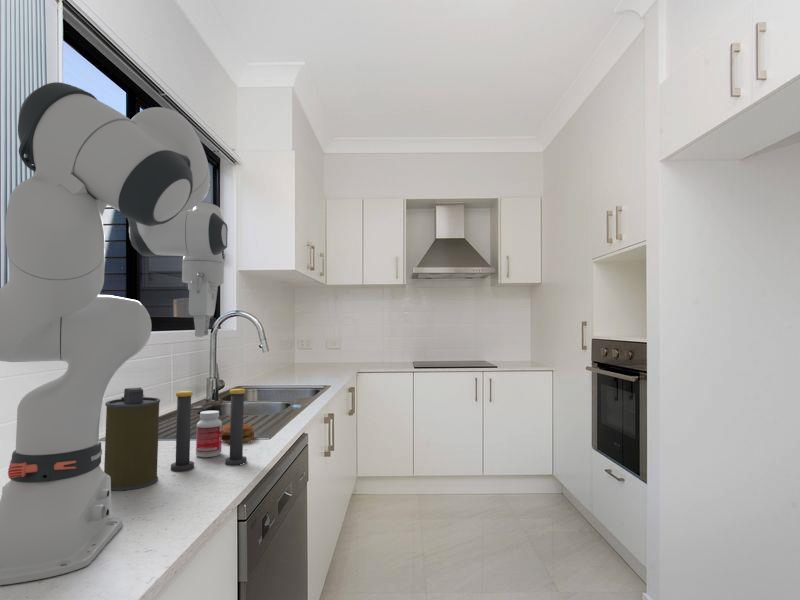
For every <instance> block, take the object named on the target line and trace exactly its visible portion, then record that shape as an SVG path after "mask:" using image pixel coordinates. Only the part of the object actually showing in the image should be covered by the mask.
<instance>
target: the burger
mask: <svg viewBox="0 0 800 600" xmlns="http://www.w3.org/2000/svg"><path fill="white" fill-rule="evenodd" d="M254 437H255V432H254V427H253V426H252V425H251V424H248V423H243V444H245V443H249V442H252V441H253V440H254ZM251 440H252V441H251ZM222 442H224V443H229V444H230V423H228V424H225V425H222Z"/></svg>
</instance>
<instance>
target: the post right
mask: <svg viewBox="0 0 800 600" xmlns="http://www.w3.org/2000/svg"><path fill="white" fill-rule="evenodd" d="M229 394H230V422H229V424H230V443H229V456H228V457H227V458H225V460H224V461H225V462H224V464H225V466H228V465H238V466H241V465H240V464H243V463H245V464H247V463H246V462H248V459H247V456H245V455H244V454H243V453H244V452H243V451H244V450H243V446H244V445H243V444H244V443H243V424H244V412H245V411H244V404H245V403H244V402H245V399H244V398H245V394H246V389H245V388H233V389H229ZM243 465H244V464H243Z"/></svg>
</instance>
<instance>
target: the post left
mask: <svg viewBox="0 0 800 600" xmlns="http://www.w3.org/2000/svg"><path fill="white" fill-rule="evenodd" d="M193 394H194V392H193V391H192V390H183V391H182V390H181V391H176V392H175V396H176V397H177V398H176V399H177V400H176V429H175V431H176V432H175V433H176V434H175V435H176V436H175V437H176V439H175V462H172V463H171V464H170V470H171V471H172V472H185V471H190V470H192V469H194V468H195V462H194V461H192V460H190V458H191V457H190V455H191V450H190V449H191V419H192V416H191V415H192V396H193Z"/></svg>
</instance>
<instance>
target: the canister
mask: <svg viewBox="0 0 800 600" xmlns="http://www.w3.org/2000/svg"><path fill="white" fill-rule="evenodd" d="M160 402H161V399H160V398H158V397H151V396H150V397H148V396H147V397H146V396H145V395H144V389H143V388H142V387H131V388H130V387H128V388H124V391H123V396H122V397H120V398H116V399H112V400H109V401H106V402H105V406H106V412H105V413H106V414H105V439H104V441H105V443H104V444H105V445H104V463H103V464H104V468H103V471H104V472H105V473H106V474H108V475H109V476H110V478H111V491H114V492H118V491H120V492H121V491H123V492H124V491H129V490H130V491H131V490H138V489H142V488H145V487H149V486H151V485H153V484H154V483H156V482H158V480H159V477H158V453H159V425H160V424H159V423H160Z"/></svg>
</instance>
